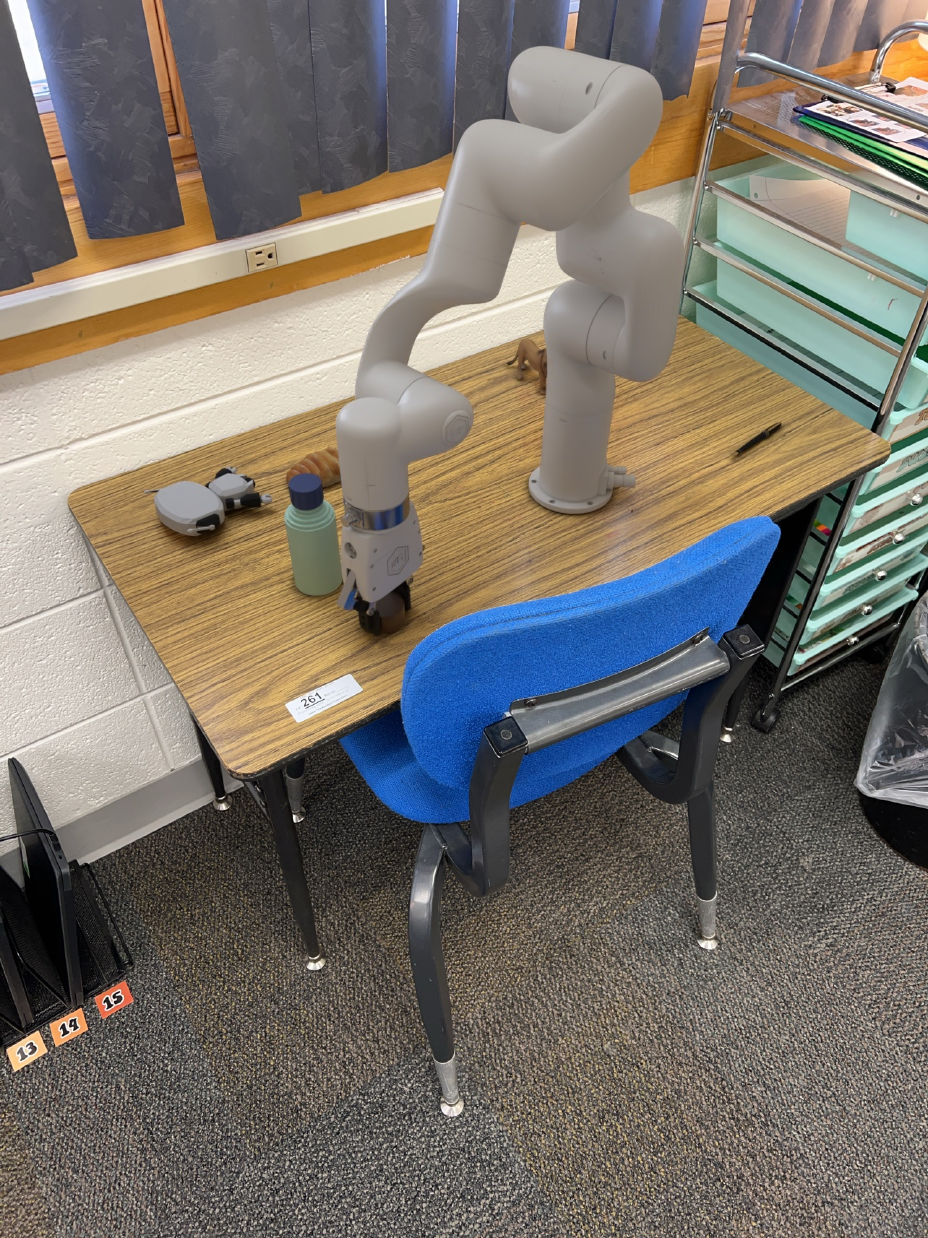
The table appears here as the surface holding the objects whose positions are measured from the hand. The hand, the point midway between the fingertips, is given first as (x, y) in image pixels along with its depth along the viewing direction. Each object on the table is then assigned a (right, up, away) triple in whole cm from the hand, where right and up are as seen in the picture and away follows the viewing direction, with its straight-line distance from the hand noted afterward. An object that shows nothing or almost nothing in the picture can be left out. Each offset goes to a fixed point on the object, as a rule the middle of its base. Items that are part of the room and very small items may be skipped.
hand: (385, 616), depth 117 cm
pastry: (-12, +21, +23) cm, 33 cm away
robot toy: (-26, +15, +16) cm, 34 cm away
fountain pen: (+57, +28, +30) cm, 70 cm away
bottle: (-9, +5, +6) cm, 12 cm away
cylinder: (0, 0, 0) cm, 1 cm away
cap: (-9, +16, -5) cm, 19 cm away
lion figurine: (+23, +41, +43) cm, 64 cm away
